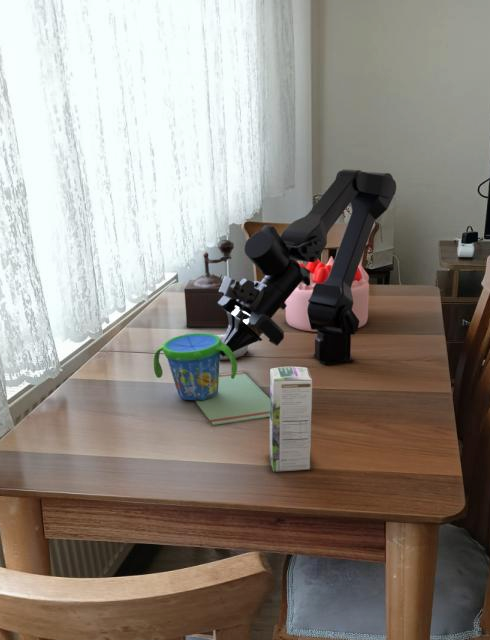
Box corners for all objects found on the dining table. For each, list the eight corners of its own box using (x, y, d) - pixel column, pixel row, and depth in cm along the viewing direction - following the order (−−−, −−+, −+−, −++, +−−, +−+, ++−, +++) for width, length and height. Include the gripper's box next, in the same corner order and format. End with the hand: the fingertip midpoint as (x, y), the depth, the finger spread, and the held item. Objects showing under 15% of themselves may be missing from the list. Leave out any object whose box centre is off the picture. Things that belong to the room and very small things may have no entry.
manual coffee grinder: (231, 327, 185) (229, 250, 177) (185, 328, 185) (180, 250, 177) (237, 310, 199) (234, 238, 190) (194, 311, 199) (189, 238, 191)
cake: (278, 331, 181) (278, 269, 175) (293, 309, 198) (293, 252, 192) (363, 335, 177) (365, 271, 171) (371, 312, 194) (373, 253, 188)
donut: (196, 361, 164) (243, 362, 162) (195, 345, 162) (242, 346, 160) (208, 347, 172) (252, 347, 170) (207, 331, 171) (252, 332, 169)
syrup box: (268, 456, 121) (267, 367, 114) (306, 454, 121) (307, 365, 115) (272, 472, 116) (271, 380, 109) (312, 470, 116) (313, 378, 110)
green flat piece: (242, 372, 156) (242, 371, 156) (284, 414, 136) (284, 413, 136) (179, 380, 153) (179, 379, 153) (213, 425, 132) (212, 424, 132)
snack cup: (248, 385, 146) (242, 333, 141) (225, 408, 138) (218, 353, 133) (175, 381, 152) (166, 331, 147) (149, 403, 144) (139, 350, 139)
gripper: (226, 251, 145) (173, 315, 146) (268, 268, 130) (208, 340, 131) (265, 289, 152) (213, 351, 153) (308, 310, 136) (251, 379, 137)
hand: (220, 354), depth 143 cm, fingers closed
